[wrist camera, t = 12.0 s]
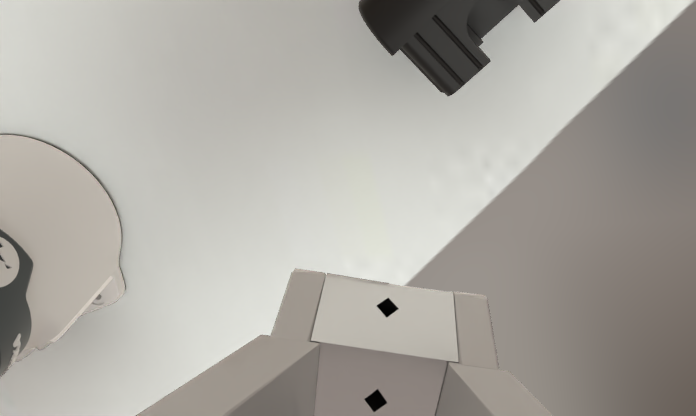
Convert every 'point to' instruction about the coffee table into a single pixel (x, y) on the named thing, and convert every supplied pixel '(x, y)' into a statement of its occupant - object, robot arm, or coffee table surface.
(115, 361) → the coffee table surface
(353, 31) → the coffee table surface
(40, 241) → the robot arm
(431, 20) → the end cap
